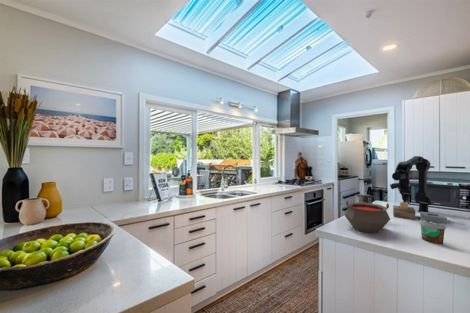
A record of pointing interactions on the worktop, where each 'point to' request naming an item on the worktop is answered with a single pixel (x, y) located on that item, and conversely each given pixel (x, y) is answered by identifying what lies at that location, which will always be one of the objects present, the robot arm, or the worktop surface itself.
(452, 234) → the worktop surface
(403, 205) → the plug
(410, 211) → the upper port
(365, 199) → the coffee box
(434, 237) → the food container
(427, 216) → the frame
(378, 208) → the faceted brown planter
